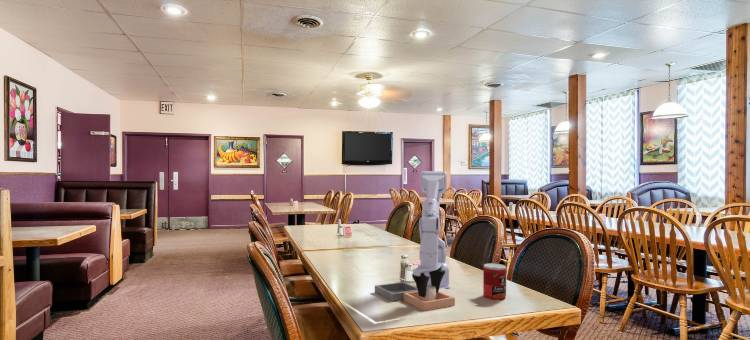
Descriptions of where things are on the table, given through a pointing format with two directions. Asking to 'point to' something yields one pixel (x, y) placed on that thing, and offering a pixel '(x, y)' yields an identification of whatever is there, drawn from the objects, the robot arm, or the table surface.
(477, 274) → the table surface
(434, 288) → the white rounded cylinder
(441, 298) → the dump bin
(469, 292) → the table surface
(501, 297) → the canned food
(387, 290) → the bin
